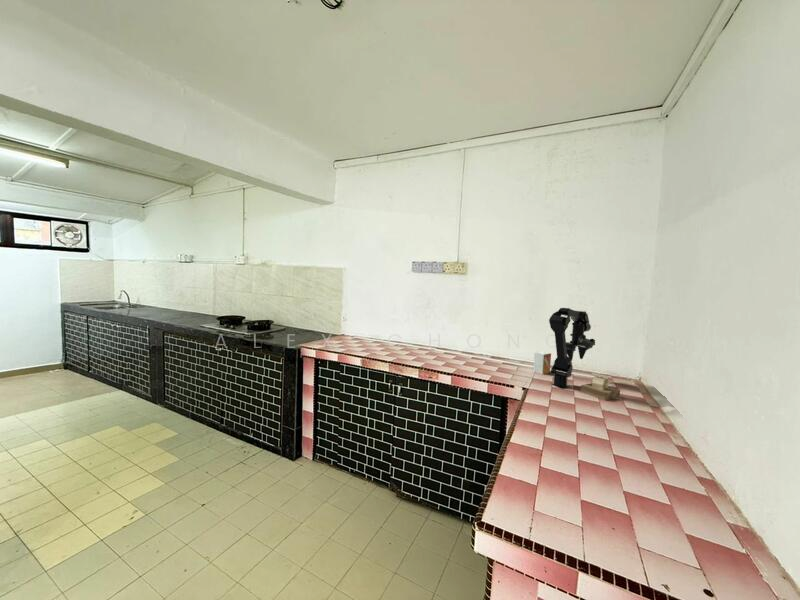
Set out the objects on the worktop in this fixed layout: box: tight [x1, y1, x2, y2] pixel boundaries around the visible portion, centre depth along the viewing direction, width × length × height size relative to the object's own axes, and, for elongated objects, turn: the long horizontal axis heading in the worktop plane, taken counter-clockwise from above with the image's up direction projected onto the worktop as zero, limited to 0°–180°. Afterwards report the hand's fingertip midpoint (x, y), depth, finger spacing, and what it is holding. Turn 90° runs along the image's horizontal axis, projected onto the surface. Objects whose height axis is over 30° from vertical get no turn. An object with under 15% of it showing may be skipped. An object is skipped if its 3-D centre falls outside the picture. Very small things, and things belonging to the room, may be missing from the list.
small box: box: [532, 350, 552, 375], centre depth 186 cm, size 8×6×13 cm
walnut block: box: [580, 383, 621, 401], centre depth 153 cm, size 12×12×4 cm
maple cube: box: [591, 375, 610, 390], centre depth 153 cm, size 5×5×5 cm
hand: (576, 359), depth 175 cm, fingers open, 9 cm apart
